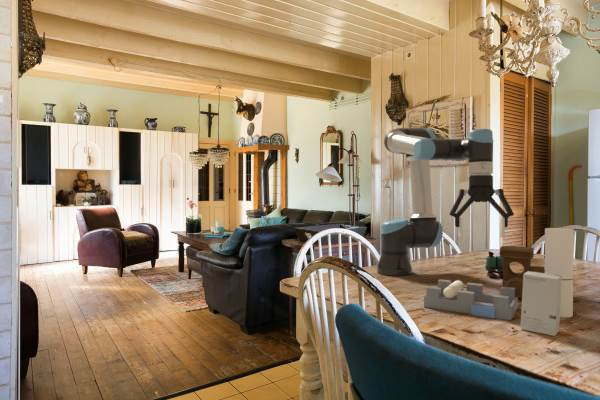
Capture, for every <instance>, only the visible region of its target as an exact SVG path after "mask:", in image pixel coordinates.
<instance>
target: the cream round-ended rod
mask: <svg viewBox="0 0 600 400" xmlns="http://www.w3.org/2000/svg"><path fill="white" fill-rule="evenodd" d="M464 289H465V284H464V283H463V281H461V280H460V279H457V280H454V282H451V284H450V285H449V286H448V287H446V288H445V289H444V291H443V294H444V296H445V297H446V298H449V299H451V298H453V297H455V296H456V295H457V292H458V291H459V290H464Z"/></svg>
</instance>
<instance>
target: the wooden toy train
mask: <svg viewBox="0 0 600 400" xmlns="http://www.w3.org/2000/svg"><path fill="white" fill-rule="evenodd" d="M534 250H535V249H534V247H529V246H518V245H515V246H514V245H502V246H501V247H500V248H499V253H500V254H499V256H500V257H503V277H504V279H502V286H501V287H511V288H515V297H518V299H522V292H523V275H524V273H526V272H527V271H531V272H539V273H545V266H535V265H532V264H531V263H532V262H531V261H532V260H533V258H534V252H535V251H534ZM543 259H544V260H545V255H544V256H543ZM511 263H512V264H513V263H518V264H520V265H522V267H523V271H522V272H514V271H513V270H512V269H511Z"/></svg>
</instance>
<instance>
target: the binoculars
mask: <svg viewBox="0 0 600 400" xmlns="http://www.w3.org/2000/svg"><path fill="white" fill-rule="evenodd" d="M494 254H495V253H494V252H493V251H490V250H489V251H488V256H486V261H485V262H486V263H485V266H484V267H485V270H486V271H487V272H486V276H488V277H489V278H490V279H493V280H497V279H498V277H500V279H502V280H503V279H504V277H503V257H500V252H499V253H498V254H499V255H496V256H495V255H494Z"/></svg>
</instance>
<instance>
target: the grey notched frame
mask: <svg viewBox="0 0 600 400" xmlns="http://www.w3.org/2000/svg"><path fill="white" fill-rule="evenodd" d="M450 284H452V280H450V279H438V280H437V286H427V287H426V294H425V295H424V296H423V307H424V308H430V309H435V310H443V311H448V310H449V312H454V311H455V313H461V314H466V315H467V314H469V315H471V316H477V317H483V318H484V317H485V318H489V319H500V320H507V321H512V319H513V318H514V315H515V314H516V312H517V310H518V305H519V304H518V303H519V298H518V297H515V288H511V287H502V286H501V287H500V293H499V294H494V293H485V292H484V284H482V283H476V282H467V283H466V290H464V289H463V290H459V291H458V292H457V295H456V296H455V297H453V298H451V299H449V298H446V297H445V296H444V294H443V291H444V289H445V288H446V287H448V286H449V285H450Z"/></svg>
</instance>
